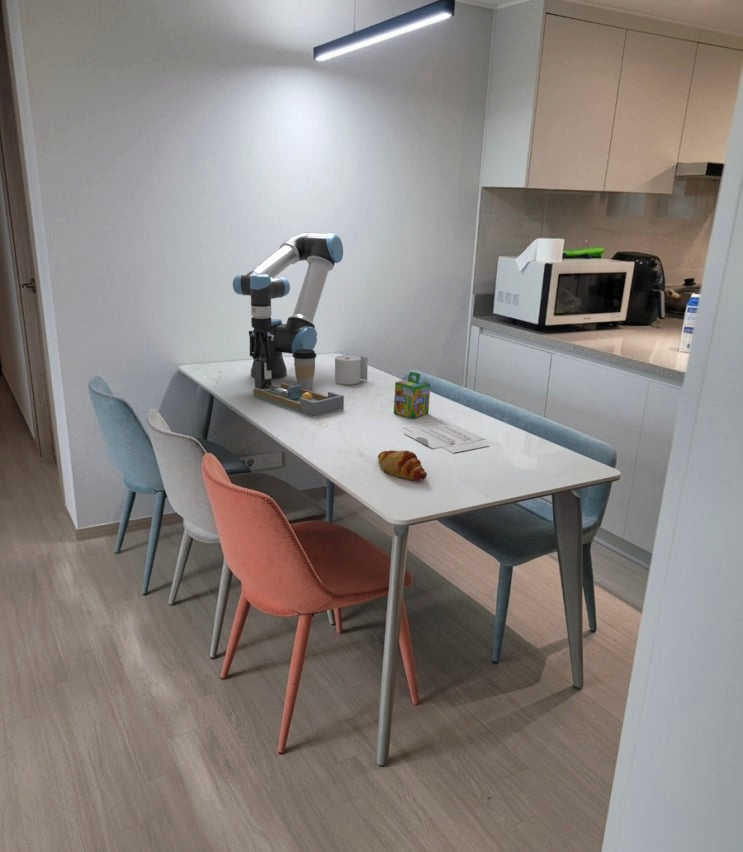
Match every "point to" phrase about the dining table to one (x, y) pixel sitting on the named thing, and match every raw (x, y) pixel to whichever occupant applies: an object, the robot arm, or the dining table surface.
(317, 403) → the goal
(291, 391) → the striker rod
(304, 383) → the coffee cup
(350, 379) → the toilet tissue
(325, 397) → the lane
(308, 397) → the ball
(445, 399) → the dining table surface
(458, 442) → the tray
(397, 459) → the croissant
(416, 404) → the chalk box
